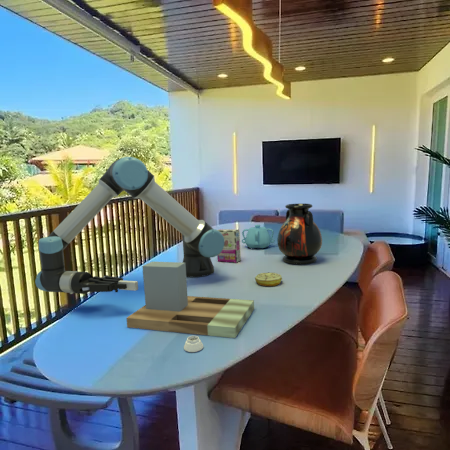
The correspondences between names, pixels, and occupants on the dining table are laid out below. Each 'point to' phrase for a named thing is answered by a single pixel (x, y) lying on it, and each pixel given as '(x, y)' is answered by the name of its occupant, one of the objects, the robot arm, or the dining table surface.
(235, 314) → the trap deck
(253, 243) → the decorative pot
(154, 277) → the grey block
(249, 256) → the dining table surface
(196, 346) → the white jar
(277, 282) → the decorated donut
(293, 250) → the amphora vase
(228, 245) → the candy bar box
